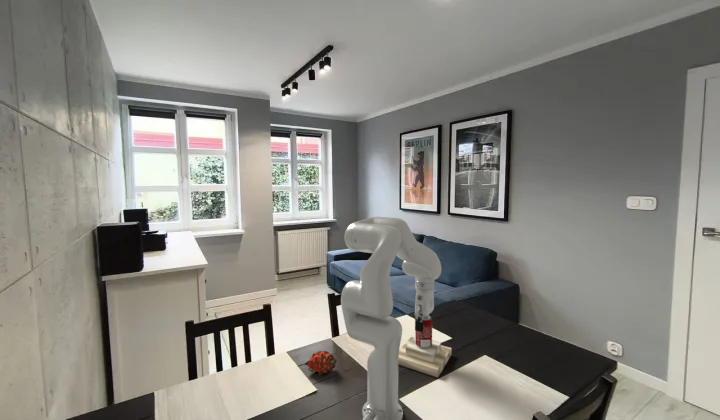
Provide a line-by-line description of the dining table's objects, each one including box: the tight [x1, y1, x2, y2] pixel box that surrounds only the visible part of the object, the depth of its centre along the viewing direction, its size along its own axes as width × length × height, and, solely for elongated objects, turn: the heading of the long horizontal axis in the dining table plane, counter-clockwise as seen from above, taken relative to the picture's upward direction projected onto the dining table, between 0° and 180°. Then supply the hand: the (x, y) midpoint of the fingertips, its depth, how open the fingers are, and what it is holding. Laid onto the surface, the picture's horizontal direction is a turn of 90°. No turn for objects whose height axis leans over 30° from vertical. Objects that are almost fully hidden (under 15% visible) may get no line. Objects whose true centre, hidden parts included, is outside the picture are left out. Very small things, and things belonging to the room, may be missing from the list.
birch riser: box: [398, 336, 452, 378], centre depth 128 cm, size 18×18×6 cm
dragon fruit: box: [304, 350, 337, 376], centre depth 119 cm, size 8×8×12 cm
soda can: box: [414, 315, 433, 348], centre depth 127 cm, size 7×7×12 cm
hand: (423, 326), depth 127 cm, fingers open, 9 cm apart
